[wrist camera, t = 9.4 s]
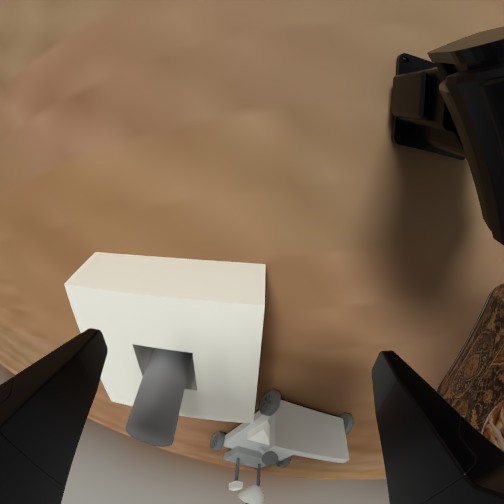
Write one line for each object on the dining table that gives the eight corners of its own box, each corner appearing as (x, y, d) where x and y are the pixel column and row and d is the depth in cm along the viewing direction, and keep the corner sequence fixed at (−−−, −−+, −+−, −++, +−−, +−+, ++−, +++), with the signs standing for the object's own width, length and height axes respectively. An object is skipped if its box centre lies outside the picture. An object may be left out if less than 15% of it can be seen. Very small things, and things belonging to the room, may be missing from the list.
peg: (194, 322, 23) (167, 429, 15) (197, 349, 25) (176, 449, 16) (157, 319, 23) (119, 420, 15) (163, 345, 25) (133, 441, 16)
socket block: (265, 264, 22) (264, 305, 17) (255, 383, 28) (253, 423, 24) (95, 252, 22) (64, 284, 18) (127, 366, 28) (111, 401, 24)
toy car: (268, 511, 30) (193, 497, 27) (270, 458, 38) (203, 439, 36) (363, 478, 22) (273, 467, 20) (351, 409, 31) (274, 383, 29)
